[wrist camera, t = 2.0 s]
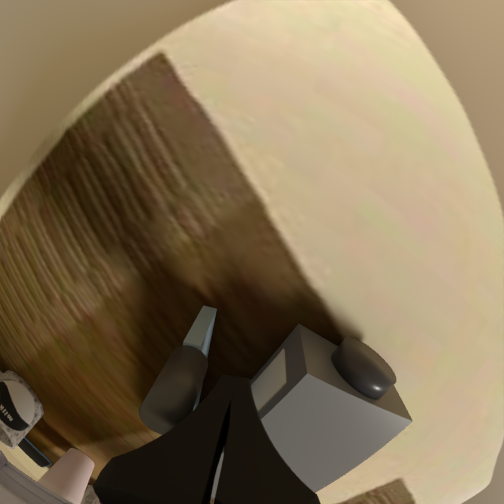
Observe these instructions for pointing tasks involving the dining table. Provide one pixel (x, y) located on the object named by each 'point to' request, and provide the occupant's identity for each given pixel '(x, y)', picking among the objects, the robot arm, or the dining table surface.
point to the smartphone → (34, 453)
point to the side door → (180, 378)
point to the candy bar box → (90, 496)
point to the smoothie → (69, 476)
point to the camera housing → (326, 405)
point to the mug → (17, 408)
